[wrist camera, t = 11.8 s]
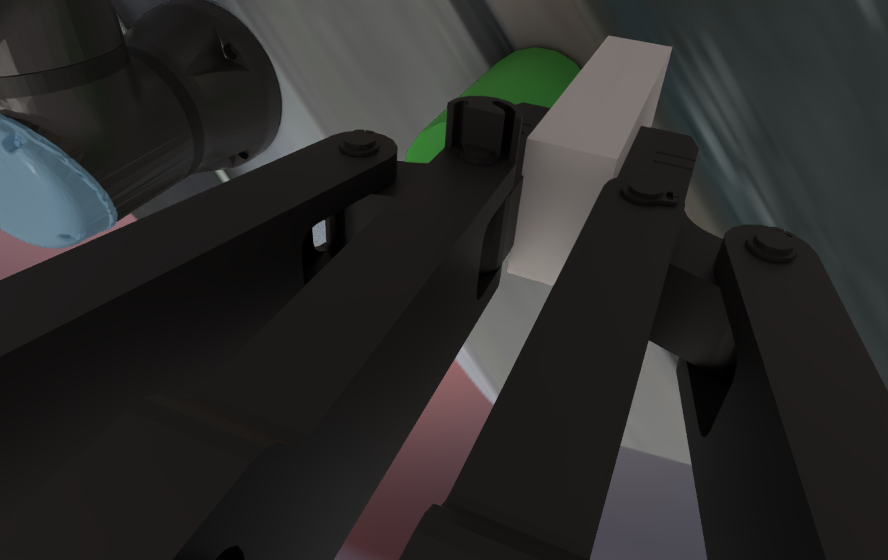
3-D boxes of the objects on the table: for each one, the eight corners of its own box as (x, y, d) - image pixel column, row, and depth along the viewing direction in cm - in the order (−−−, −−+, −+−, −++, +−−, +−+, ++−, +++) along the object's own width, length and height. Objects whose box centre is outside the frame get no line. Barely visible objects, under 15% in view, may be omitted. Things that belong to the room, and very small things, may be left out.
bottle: (483, 43, 51) (309, 183, 32) (598, 43, 48) (482, 200, 29) (489, 152, 55) (341, 331, 37) (594, 159, 52) (492, 359, 33)
